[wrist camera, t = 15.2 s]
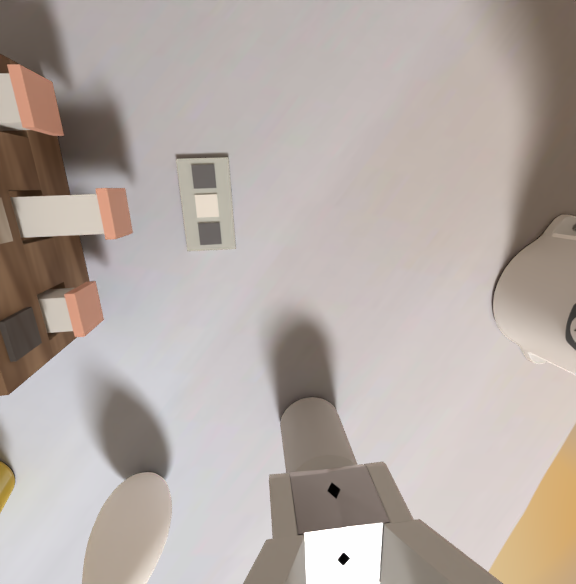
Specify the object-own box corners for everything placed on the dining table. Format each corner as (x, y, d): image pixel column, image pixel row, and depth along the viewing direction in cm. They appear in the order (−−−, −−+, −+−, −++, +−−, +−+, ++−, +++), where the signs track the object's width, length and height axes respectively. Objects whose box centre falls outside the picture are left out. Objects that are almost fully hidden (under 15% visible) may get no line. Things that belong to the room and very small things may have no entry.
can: (271, 435, 43) (279, 523, 32) (291, 386, 41) (306, 462, 30) (324, 446, 45) (350, 535, 33) (345, 400, 43) (379, 477, 31)
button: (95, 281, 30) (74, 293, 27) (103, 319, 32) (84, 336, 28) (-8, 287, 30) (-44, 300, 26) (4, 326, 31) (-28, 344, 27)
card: (228, 157, 33) (228, 157, 32) (235, 248, 35) (235, 249, 35) (176, 159, 32) (175, 158, 32) (188, 250, 35) (187, 251, 35)
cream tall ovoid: (183, 499, 45) (141, 692, 28) (122, 505, 44) (40, 707, 27) (177, 452, 42) (127, 630, 25) (113, 457, 42) (16, 645, 24)
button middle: (125, 188, 28) (106, 188, 25) (132, 233, 30) (116, 239, 26) (15, 192, 28) (-21, 192, 24) (27, 237, 29) (-5, 244, 25)
